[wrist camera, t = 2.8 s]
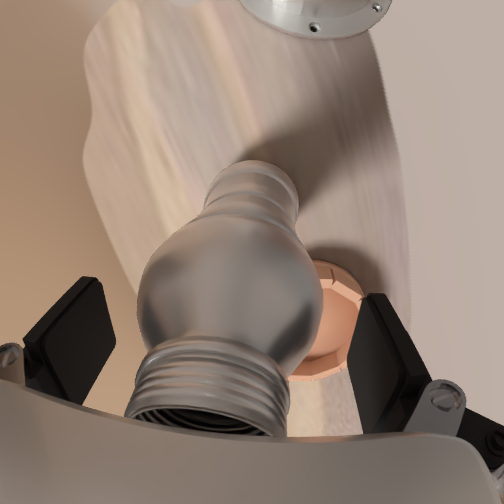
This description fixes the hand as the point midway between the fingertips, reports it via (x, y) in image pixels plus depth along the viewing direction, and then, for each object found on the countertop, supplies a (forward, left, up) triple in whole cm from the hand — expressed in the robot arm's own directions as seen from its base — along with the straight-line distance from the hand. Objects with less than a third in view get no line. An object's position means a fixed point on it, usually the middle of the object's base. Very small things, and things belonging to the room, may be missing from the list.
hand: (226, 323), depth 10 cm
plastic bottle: (0, 0, -15) cm, 15 cm away
